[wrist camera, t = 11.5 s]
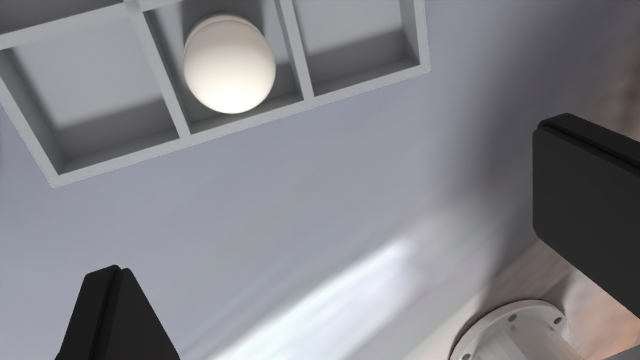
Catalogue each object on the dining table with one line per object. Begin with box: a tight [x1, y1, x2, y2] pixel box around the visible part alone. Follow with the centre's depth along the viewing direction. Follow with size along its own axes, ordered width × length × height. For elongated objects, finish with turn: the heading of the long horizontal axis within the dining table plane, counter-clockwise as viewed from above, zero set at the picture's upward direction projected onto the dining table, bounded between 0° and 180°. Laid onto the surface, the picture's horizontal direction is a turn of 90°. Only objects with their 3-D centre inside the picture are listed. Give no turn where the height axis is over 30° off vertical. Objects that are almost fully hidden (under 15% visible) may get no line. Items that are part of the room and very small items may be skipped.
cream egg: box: [183, 11, 276, 114], centre depth 23 cm, size 4×4×6 cm
